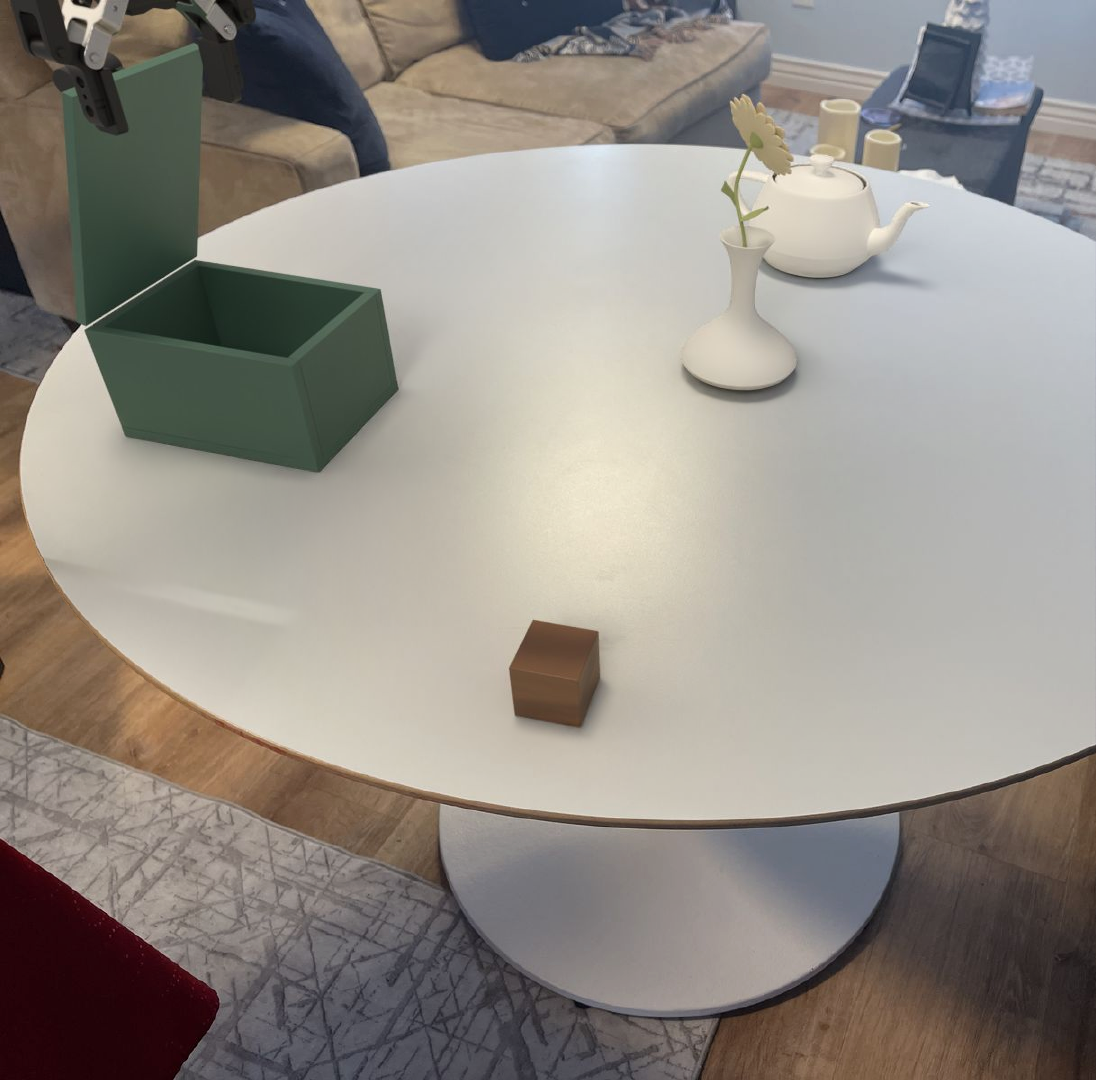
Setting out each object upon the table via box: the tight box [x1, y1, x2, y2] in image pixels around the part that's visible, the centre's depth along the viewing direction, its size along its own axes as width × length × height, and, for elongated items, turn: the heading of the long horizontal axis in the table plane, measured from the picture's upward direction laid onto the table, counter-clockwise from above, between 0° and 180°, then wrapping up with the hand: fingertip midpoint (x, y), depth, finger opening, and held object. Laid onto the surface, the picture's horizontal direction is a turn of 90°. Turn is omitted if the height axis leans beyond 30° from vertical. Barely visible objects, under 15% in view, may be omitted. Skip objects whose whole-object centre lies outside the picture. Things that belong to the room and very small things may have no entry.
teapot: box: [726, 153, 931, 279], centre depth 116 cm, size 25×16×12 cm, turn 61°
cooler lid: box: [51, 42, 204, 327], centre depth 77 cm, size 19×14×5 cm
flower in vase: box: [679, 93, 798, 391], centre depth 91 cm, size 13×11×25 cm
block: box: [508, 619, 601, 729], centre depth 63 cm, size 4×4×4 cm
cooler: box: [83, 259, 399, 473], centre depth 86 cm, size 18×14×10 cm
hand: (172, 115), depth 64 cm, fingers open, 8 cm apart
